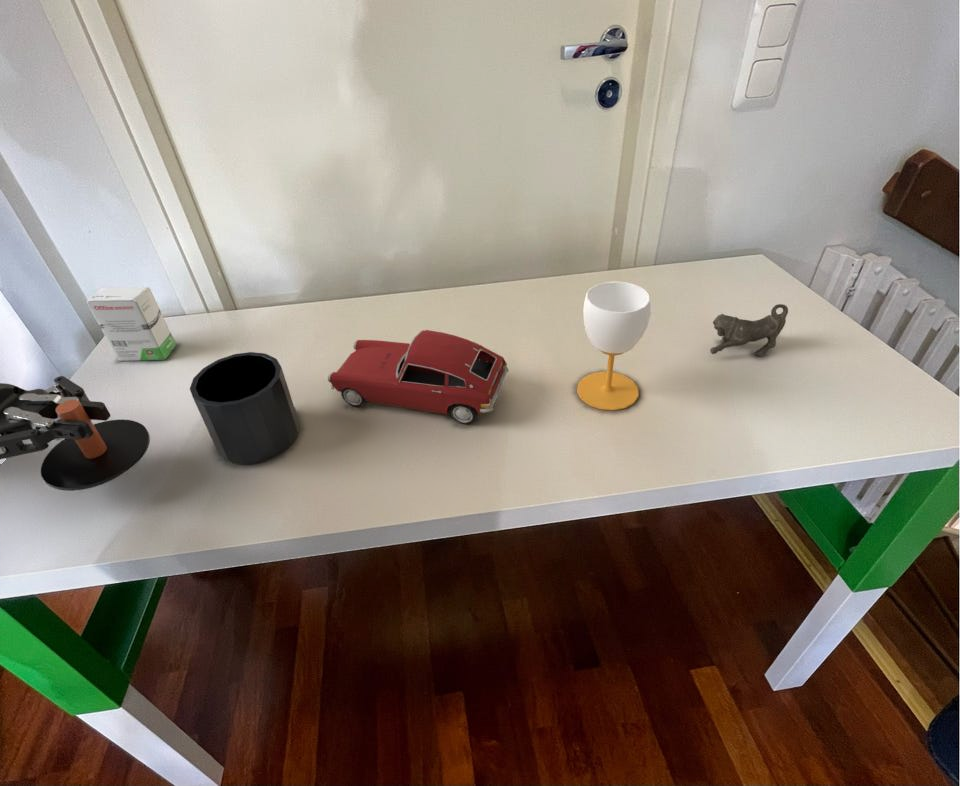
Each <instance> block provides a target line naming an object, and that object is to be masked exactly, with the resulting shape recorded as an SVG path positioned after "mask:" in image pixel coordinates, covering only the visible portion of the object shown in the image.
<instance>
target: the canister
mask: <svg viewBox="0 0 960 786" xmlns="http://www.w3.org/2000/svg"><path fill="white" fill-rule="evenodd" d="M282 367H283V366H282V365H281V364H280V362H279V361H278V359H277V358H275V357H273V356H272V355H270V354H267V353H263V352H255V351H248V352H239V353H233V354H231V355H227V356H225V357H224V356H223V357H222V358H219V359H217V360H215V361H213V362H212V363H209V364H208V365H206V366H205V367H203V368H202V369H201V370H200V371H199V372H198V373H197V374H196V375H195V376H194V377H193V378H192V381H191V384H190V387H189V391H190V393H191V397H192V399H193V401H194V403H195V406H196V408H197V410H198V412H199V415H200V417H201V419H202V421H203V423H204V425H205V427H206V429H207V432H208V434H209V436H210V439H211V441H212V443H213V445H214V447H215V449H216V452H217V454H218V455H219V456H220V458H222V459H223V460H224V461H226V462H228V463H230V464H234V465H239V466H240V465H242V466H243V465H244V466H248V465H249V466H250V465H255V464H261V463H264V462H267V461H270V460H273V459H275V458H276V457H279V456H280V455H282V454H283V453H285V452H286V451H287V450H288V449H290V448H291V446H293V444H294V443H295V442H296V440H297V438H298V436H299V434H300V421H299V417H298V414H297V411H296V408H295V405H294V401H293V399H292V396H291V393H290V390H289V386H288V383H287V380H286V377H285V373H284V370H283V368H282Z"/></svg>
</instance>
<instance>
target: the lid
mask: <svg viewBox="0 0 960 786" xmlns="http://www.w3.org/2000/svg"><path fill="white" fill-rule="evenodd" d="M56 413H57V414H58V416H59V417H60V419H64V420H79V421H85V422H87V423H88V424H89V426H90V427H91V429H92V431H93V433H94V434H93V435H92V436H91V437H90V438H83V439H78V440H76V439H64V438H63V439H61V440H60V442H58V443H57V444H56V445H55V446H54V447H53V448H52V449H51V450H50V451H49V452H48V453H47V455H46V456H45V457H44V459H43V461H42V463H41V467H40V477H41V478H42V480H43V481H44V483H45V484H46V485H47V486H48V487H50V488H52V489H54V490H57V491H63V492H76V491H83V490H88V489H92V488H95V487H98V486H101V485H104V484H106V483H109V482H110V481H113V480H114V479H117V478H118V477H120V476H122V475H123V474H125V473H126V472H128V471H129V470H131V469H132V468H133V467H135V466H136V465H137V463H138V462H140V460H141V459H142V458H143V457H144V456H145V454H146V453H147V451H148V448H149V446H150V442H151V436H150V433H149V431H148V429H147V428H146V426H144V424H142V423H140V422H138V421H135V420H132V419H109V420H106V421H100V422H97V423H93V421H92V420H90V418H89V416H88V415H87V413H86V411H85V410H84V408H83V406H82V405H81V403H80V401H78V400H68V401H65V402H63V403H61V404H60V405H58V406H57V408H56Z"/></svg>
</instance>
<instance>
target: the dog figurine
mask: <svg viewBox="0 0 960 786" xmlns="http://www.w3.org/2000/svg"><path fill="white" fill-rule="evenodd" d="M778 309H782V311H781V313H777V310H778ZM788 313H789V307H788V305H785V304H782V303H779V304H775V305H774V306H773V307H772V309H771V311H770V314H768V315H766V316H764V317H762V318H761V319H755V320H749V319H743V318H739V317H737V316H731V315H727V314H724V313H720V314H718V315H717V316H716V317H715V318H714V319H713V321H712V324H713V328H714V329H715V330H716V331H717V332H716V334H717V336H718V337H721V340H720V341H719V344H718V345H716V346H712V347H711V348H710V350H709V351H710V354H711V355H716V354H718V353H719V352H723V350H724V349H727V348H730V347H739V346H744V345H747V344H748V343H752V342H757V341H760V340H763V339H766V340H767V342H766V343H765V344H764V345H763V346H761V347H760V348H758V349H757V350H756V351H755V352H754V354H755V355H756V356H757V357H762V356H763V354H766V353H767V352H768V351H770V350H771V349H774V348H775V347H776V346H777V339H778V336H779V335H780V334H781V332H782V330H783V329H784V328H785V325H786V322H787V321H786V320H787V319H786V318H787V316H788Z"/></svg>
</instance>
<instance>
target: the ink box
mask: <svg viewBox="0 0 960 786" xmlns="http://www.w3.org/2000/svg"><path fill="white" fill-rule="evenodd" d="M86 304H87V305H88V308H89V309H90V311H91V313H92V315H93V317H94V319H95V320H96V322H97V324H98V326H99V328H100V329H101V331H102V333H103V336H104V338H106V341H107V343H108V344H109V346H110V348H111V350H112V352H113V354H114V355H115V357H116V359H117V361H118V362H123V361H124V362H125V361H127V362H128V361H131V362H133V361H164V360H165V361H166V359H167V358H168V357H169V356H170V355H171V353H172V352H173V350H174V349H175V348H176V346H177V343H176V340H175V339H174V337H173V335H172V332H171V330H170V328H169V326H168V323H167V321H166V319H165V317H164V316H163V313H162V311H161V309H160V307H159V305H158V302H157V300H156V298H155V295H154V294H153V291H152V289H151V287H150V286H103V287H101V288H100V289H99V290H97V292H95V293H94V294H93V295H92V296H90V297H89V298H88V299H87V301H86Z"/></svg>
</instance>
